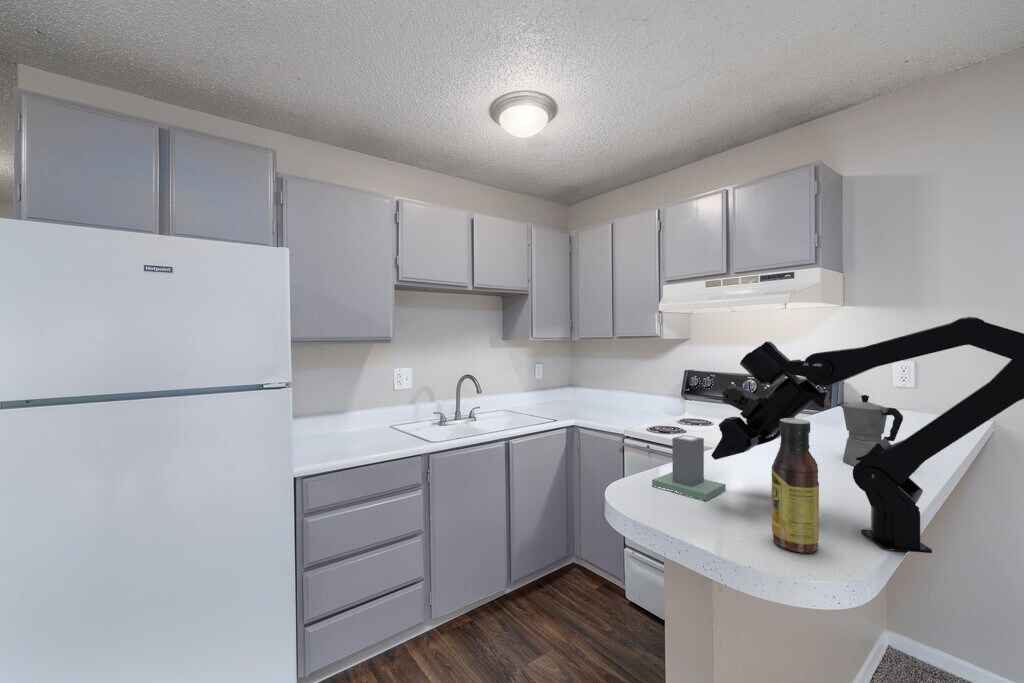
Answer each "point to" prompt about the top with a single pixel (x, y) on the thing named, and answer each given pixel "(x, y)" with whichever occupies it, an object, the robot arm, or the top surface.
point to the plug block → (688, 460)
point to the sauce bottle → (795, 489)
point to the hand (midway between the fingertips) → (723, 453)
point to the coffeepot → (867, 427)
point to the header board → (698, 491)
